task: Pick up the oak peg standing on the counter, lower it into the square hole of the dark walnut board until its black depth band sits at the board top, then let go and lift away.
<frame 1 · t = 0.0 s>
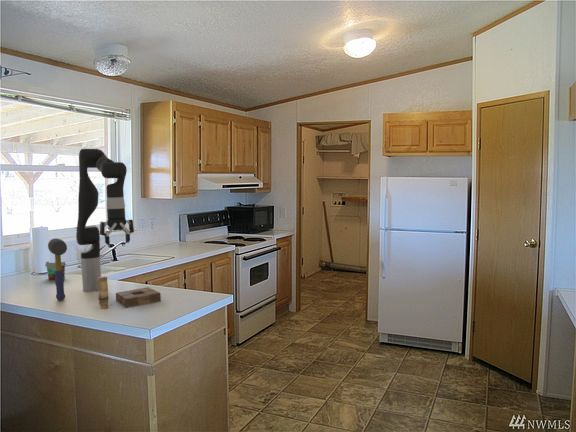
hand: (117, 243, 210), 29 cm above the countertop, tool pointing down, fingers open, 8 cm apart
walnut board: (138, 301, 223), on the countertop
rubber mallet: (60, 300, 228), on the countertop
food container: (54, 279, 275), on the countertop
oak peg: (104, 307, 213), on the countertop
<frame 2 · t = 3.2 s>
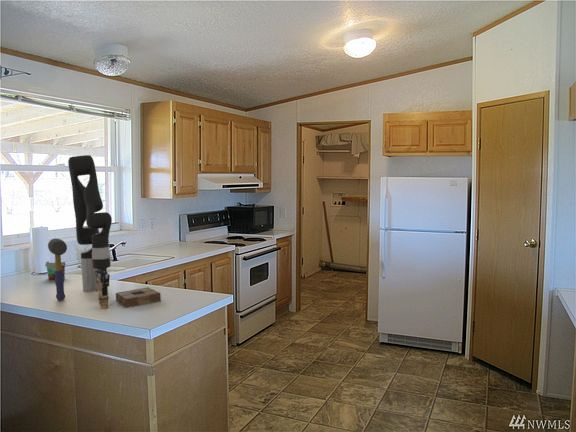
hand: (103, 294, 213), 6 cm above the countertop, tool pointing down, fingers closed on oak peg, 4 cm apart
oak peg: (104, 307, 213), on the countertop, touching gripper
everything else where it was.
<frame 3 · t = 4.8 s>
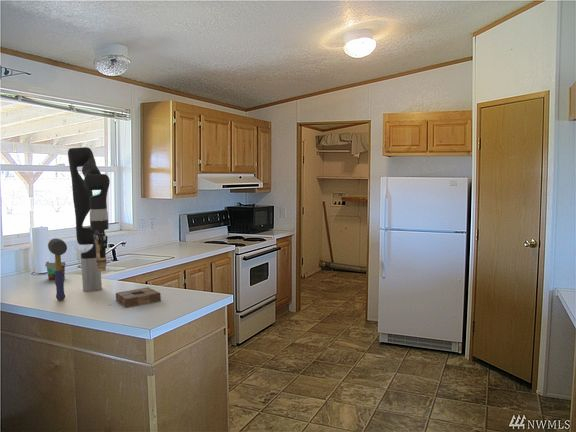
hand: (101, 256, 211), 23 cm above the countertop, tool pointing down, fingers closed on oak peg, 4 cm apart
oak peg: (102, 270, 212), point 17 cm above the countertop, touching gripper
everything else where it was.
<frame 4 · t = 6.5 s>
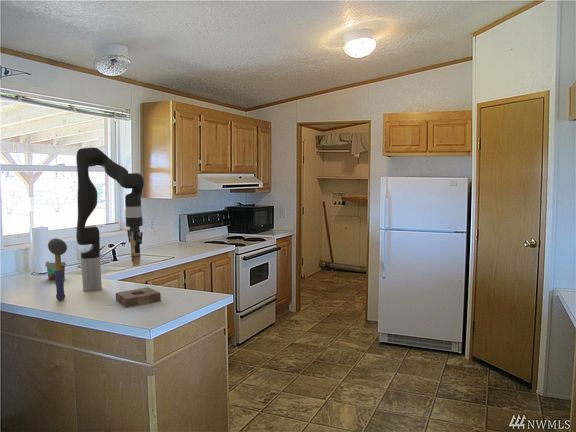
hand: (135, 252, 221), 23 cm above the countertop, tool pointing down, fingers closed on oak peg, 4 cm apart
oak peg: (136, 265, 222), point 17 cm above the countertop, touching gripper
everything else where it was.
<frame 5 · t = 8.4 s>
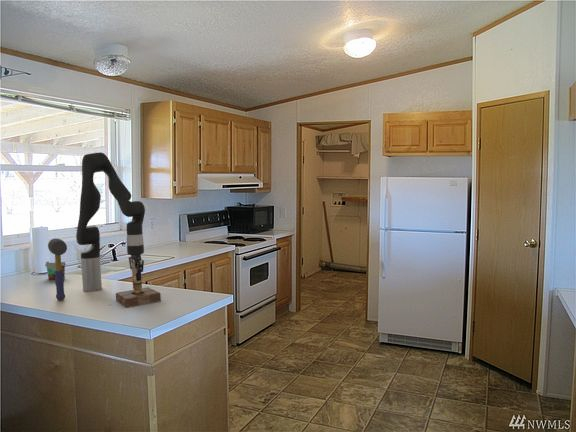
hand: (137, 279, 222), 10 cm above the countertop, tool pointing down, fingers closed on oak peg, 4 cm apart
oak peg: (137, 292, 223), point 4 cm above the countertop, touching gripper
everything else where it was.
when the fingers open (7 cm above the countertop, at t = 10.2 s): oak peg stays where it is, resting in walnut board.
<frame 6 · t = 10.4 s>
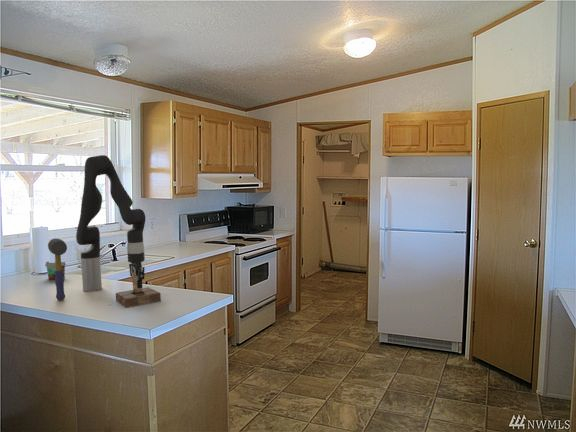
hand: (137, 286, 223), 7 cm above the countertop, tool pointing down, fingers open, 5 cm apart
oak peg: (138, 301, 223), resting in walnut board
everything else where it was.
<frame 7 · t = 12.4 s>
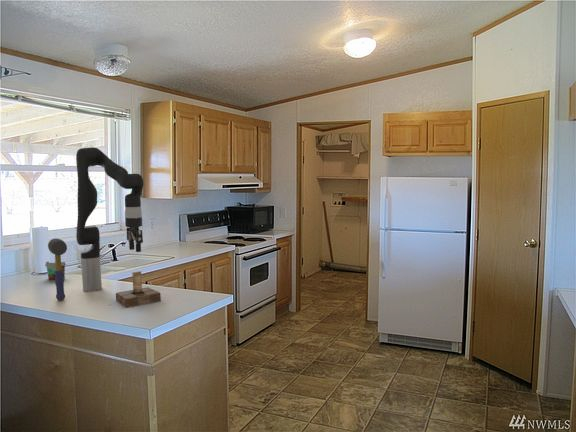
hand: (135, 250, 221), 24 cm above the countertop, tool pointing down, fingers open, 8 cm apart
nothing on the countertop moved.
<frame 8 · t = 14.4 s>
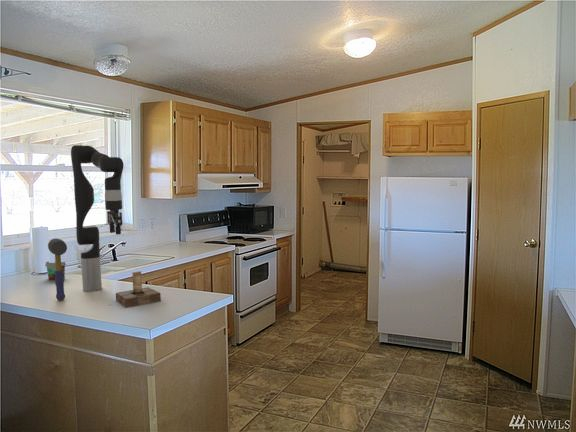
hand: (115, 233, 224), 32 cm above the countertop, tool pointing down, fingers open, 8 cm apart
nothing on the countertop moved.
at the end: oak peg 0.1 cm off-centre on the walnut board, point 0.0 cm above the walnut board's base; oak peg tilted 0°; the gripper is holding nothing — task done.
